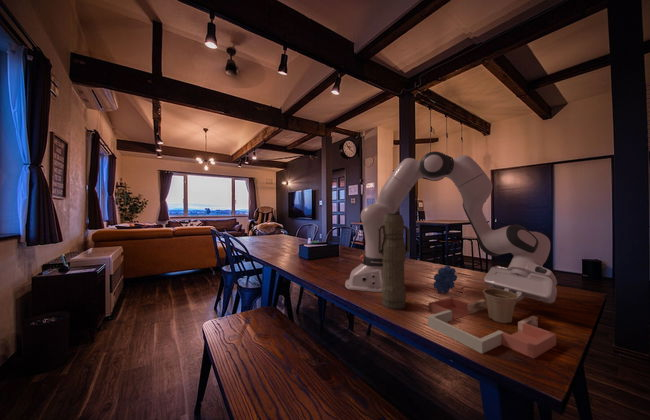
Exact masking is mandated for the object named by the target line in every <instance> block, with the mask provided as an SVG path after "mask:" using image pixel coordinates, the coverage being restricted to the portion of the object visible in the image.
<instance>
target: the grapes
mask: <svg viewBox="0 0 650 420" xmlns="http://www.w3.org/2000/svg"><path fill="white" fill-rule="evenodd" d="M456 272H457V271H456V268H454V267H451V266H450V265H447V264H446V265H445V266H444V267H439V268H438V270H437V273H436V274H434V276H433V280H434V282H433V283H432V285H433V288H434V289H436V292H437V293H439V294H442V293H444V294H447V293H449V292H450V289H454V288H455V286H456V283H455V282H457V279H458V276H457V274H456Z"/></svg>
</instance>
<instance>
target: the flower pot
mask: <svg viewBox="0 0 650 420" xmlns="http://www.w3.org/2000/svg"><path fill="white" fill-rule="evenodd" d="M482 292H483V294H484V297H485V299H486V306H487V307H486V309H487V312H488V313H487V314H488V318H489V319H491V320H493V321H494V322H497V323H501V324H507V323H510V324H511V323H512V322H513V316H514V311H515V307H516V305H515V303H516V300H517V299H518V296H517V294H514V293H512V292H509V291H505V290H500V289H495V288H484V289H483V290H482ZM516 304H517V303H516Z"/></svg>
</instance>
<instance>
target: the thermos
mask: <svg viewBox="0 0 650 420" xmlns="http://www.w3.org/2000/svg"><path fill="white" fill-rule="evenodd" d="M404 221H405V220H404V218H403V216H402V214H400V213H395V214H387V215H385V217H384V220H383V225H382V226H379V228H378V229H377V239H378V253H381V254H382V260H383V284H382V292H381V299H382V301H381V305H382V306H383V307H384V306H385V307H384V308H386V307H387V309H389V308H390V310H402V309H405V308H406V305H407V304H406V300H407V287H406V286H405V262H406V259H407V258H406V254H408V253H409V252H410V229H409V227H408V226H406V225H405V223H404ZM381 228H383V234H384V237H383V242H382V249H381ZM404 234H405V237H404ZM404 238H405V239H404Z"/></svg>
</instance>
